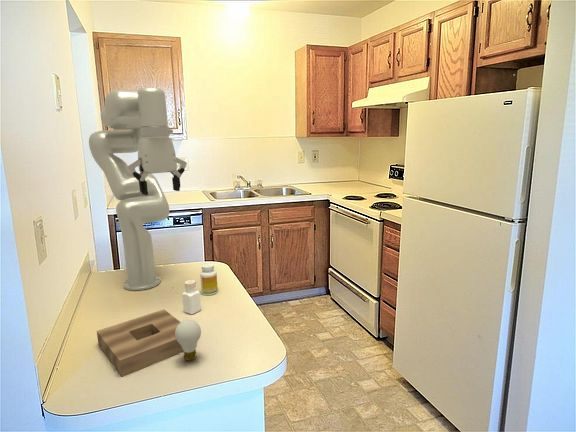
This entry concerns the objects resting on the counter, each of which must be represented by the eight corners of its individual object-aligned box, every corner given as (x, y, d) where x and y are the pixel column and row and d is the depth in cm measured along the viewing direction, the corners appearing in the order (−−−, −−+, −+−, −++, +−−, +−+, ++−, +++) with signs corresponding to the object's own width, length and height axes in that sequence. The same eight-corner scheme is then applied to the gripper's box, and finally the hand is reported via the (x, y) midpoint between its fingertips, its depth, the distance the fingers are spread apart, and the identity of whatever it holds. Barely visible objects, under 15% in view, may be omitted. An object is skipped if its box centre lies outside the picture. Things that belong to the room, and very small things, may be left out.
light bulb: (179, 369, 89) (175, 329, 86) (176, 356, 94) (172, 318, 92) (205, 363, 91) (202, 323, 89) (200, 350, 96) (197, 313, 94)
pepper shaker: (193, 307, 120) (190, 278, 118) (202, 310, 118) (199, 281, 116) (182, 312, 117) (180, 282, 115) (191, 315, 115) (189, 285, 113)
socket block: (98, 345, 100) (96, 331, 99) (165, 322, 111) (164, 309, 110) (121, 376, 87) (119, 360, 86) (195, 346, 98) (193, 332, 97)
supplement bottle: (220, 293, 131) (218, 265, 129) (205, 297, 128) (203, 269, 126) (213, 288, 135) (212, 261, 133) (199, 292, 132) (197, 264, 130)
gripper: (177, 133, 119) (182, 188, 123) (119, 134, 109) (126, 195, 112) (188, 132, 114) (193, 190, 117) (128, 133, 103) (136, 197, 106)
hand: (161, 192), depth 115 cm, fingers open, 9 cm apart
